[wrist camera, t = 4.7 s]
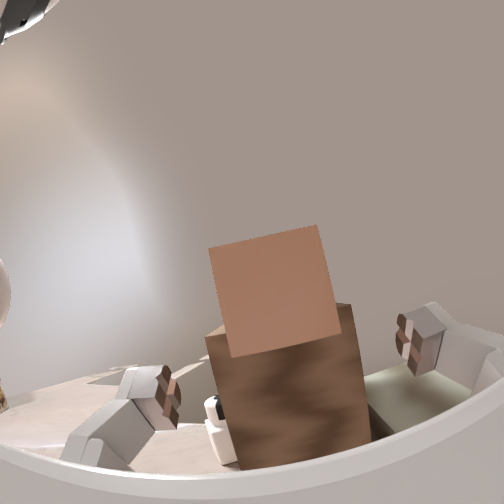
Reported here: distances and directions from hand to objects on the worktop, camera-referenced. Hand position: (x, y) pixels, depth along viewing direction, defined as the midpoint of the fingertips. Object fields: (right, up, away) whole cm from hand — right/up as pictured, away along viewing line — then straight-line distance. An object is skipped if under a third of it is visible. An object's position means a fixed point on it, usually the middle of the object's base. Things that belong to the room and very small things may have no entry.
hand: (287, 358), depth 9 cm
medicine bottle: (-4, -33, +34) cm, 48 cm away
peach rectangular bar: (+1, -2, +12) cm, 13 cm away
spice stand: (+13, -26, +13) cm, 32 cm away
